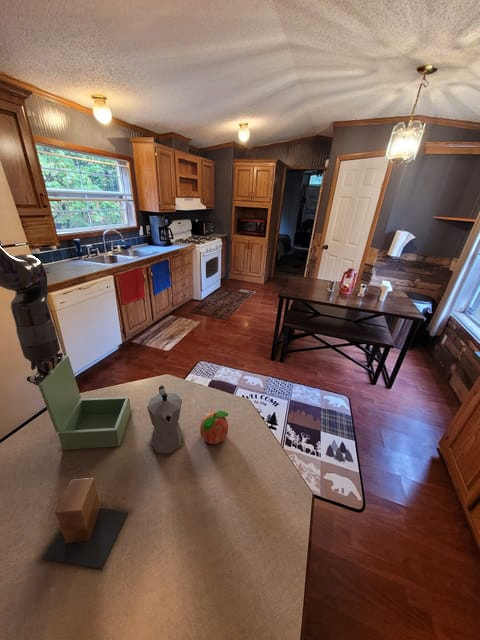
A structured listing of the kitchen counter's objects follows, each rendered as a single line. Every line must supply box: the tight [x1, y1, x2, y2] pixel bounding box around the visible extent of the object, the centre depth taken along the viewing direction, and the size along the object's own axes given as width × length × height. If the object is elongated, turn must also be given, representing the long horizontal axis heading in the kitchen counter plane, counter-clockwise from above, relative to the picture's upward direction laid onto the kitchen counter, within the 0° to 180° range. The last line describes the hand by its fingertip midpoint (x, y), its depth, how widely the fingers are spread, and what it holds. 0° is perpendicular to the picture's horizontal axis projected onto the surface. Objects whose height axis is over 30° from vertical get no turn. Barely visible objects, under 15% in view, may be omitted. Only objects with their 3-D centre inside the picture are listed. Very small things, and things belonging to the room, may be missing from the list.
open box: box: [57, 396, 132, 450], centre depth 77 cm, size 15×14×7 cm
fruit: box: [199, 410, 229, 445], centre depth 77 cm, size 9×10×10 cm
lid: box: [37, 355, 82, 433], centre depth 71 cm, size 16×14×1 cm
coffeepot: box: [146, 385, 183, 454], centre depth 73 cm, size 15×9×18 cm, turn 23°
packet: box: [55, 477, 101, 543], centre depth 52 cm, size 4×6×10 cm
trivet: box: [41, 507, 129, 571], centre depth 53 cm, size 12×10×1 cm
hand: (53, 392), depth 70 cm, fingers closed
